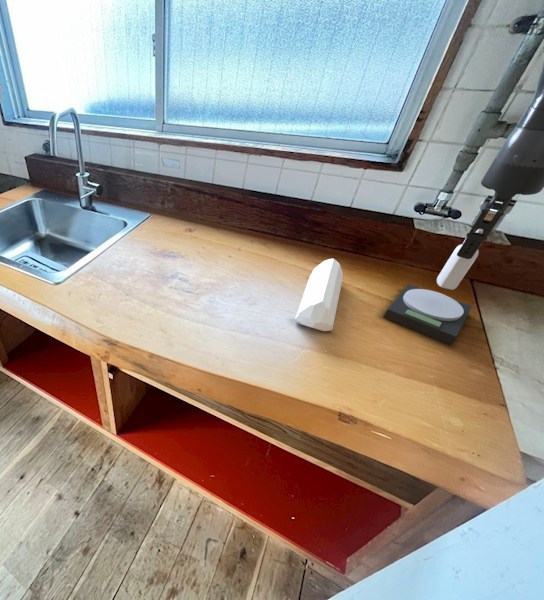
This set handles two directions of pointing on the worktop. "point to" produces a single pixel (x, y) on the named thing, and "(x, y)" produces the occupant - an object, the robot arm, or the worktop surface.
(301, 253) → the worktop surface
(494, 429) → the worktop surface
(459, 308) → the kitchen scale
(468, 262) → the eye dropper bottle
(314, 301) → the chamfered white bar
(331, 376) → the worktop surface
